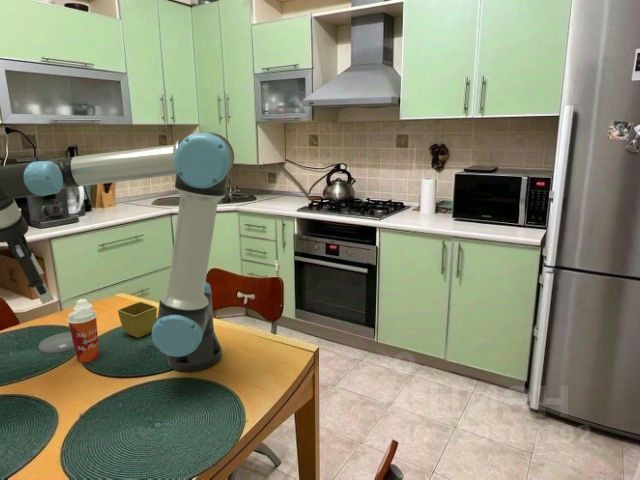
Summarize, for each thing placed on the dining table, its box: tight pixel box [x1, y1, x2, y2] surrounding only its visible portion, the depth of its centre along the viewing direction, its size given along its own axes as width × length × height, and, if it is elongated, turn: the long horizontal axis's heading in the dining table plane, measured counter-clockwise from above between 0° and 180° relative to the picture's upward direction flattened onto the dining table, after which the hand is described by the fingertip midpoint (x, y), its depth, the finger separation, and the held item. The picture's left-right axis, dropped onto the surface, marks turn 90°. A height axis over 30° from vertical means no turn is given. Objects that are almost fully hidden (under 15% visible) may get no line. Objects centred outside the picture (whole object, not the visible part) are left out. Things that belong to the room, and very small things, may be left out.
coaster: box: [38, 331, 75, 355], centre depth 138 cm, size 12×12×1 cm
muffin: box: [72, 298, 94, 312], centre depth 157 cm, size 6×6×7 cm
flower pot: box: [117, 301, 158, 339], centre depth 143 cm, size 9×9×9 cm
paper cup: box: [66, 308, 100, 363], centre depth 128 cm, size 8×8×14 cm
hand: (42, 287), depth 117 cm, fingers open, 13 cm apart
